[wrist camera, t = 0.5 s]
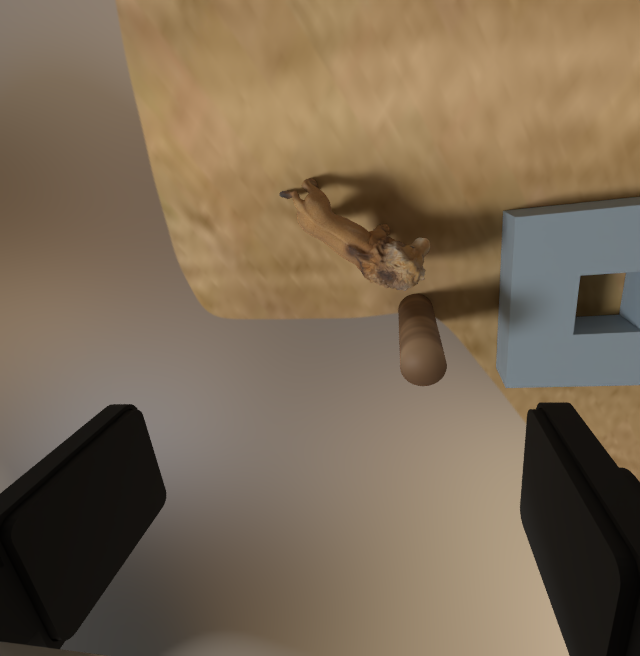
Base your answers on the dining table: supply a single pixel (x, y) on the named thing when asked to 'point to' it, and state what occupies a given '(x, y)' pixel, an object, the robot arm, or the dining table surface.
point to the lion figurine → (361, 241)
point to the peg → (420, 342)
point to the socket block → (568, 295)
